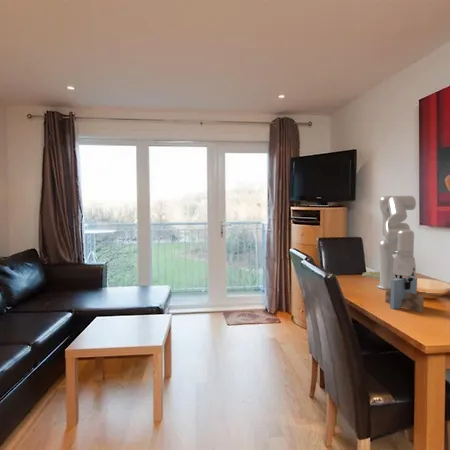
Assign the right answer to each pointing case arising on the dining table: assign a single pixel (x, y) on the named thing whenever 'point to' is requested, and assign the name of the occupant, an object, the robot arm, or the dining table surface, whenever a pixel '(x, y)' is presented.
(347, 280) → the dining table surface
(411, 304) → the mottled stone notched panel
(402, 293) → the slate slotted plate
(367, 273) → the decorative tile
